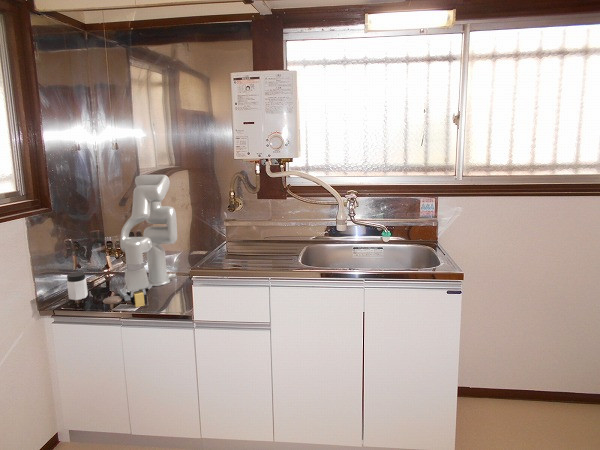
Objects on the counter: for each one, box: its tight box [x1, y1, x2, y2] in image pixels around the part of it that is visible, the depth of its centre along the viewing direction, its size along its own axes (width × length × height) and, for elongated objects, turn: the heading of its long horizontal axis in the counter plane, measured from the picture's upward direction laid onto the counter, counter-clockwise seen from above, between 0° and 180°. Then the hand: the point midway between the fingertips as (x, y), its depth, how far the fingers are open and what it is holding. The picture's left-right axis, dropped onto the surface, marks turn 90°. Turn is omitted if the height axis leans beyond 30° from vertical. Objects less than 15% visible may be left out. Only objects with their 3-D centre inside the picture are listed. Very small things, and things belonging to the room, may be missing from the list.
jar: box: [66, 271, 89, 301], centre depth 224 cm, size 9×8×12 cm
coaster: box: [102, 295, 124, 305], centre depth 220 cm, size 9×9×1 cm
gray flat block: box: [118, 288, 140, 302], centre depth 226 cm, size 8×12×3 cm, turn 35°
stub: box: [133, 289, 146, 308], centre depth 213 cm, size 4×5×6 cm
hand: (138, 302), depth 214 cm, fingers closed on stub, 4 cm apart
